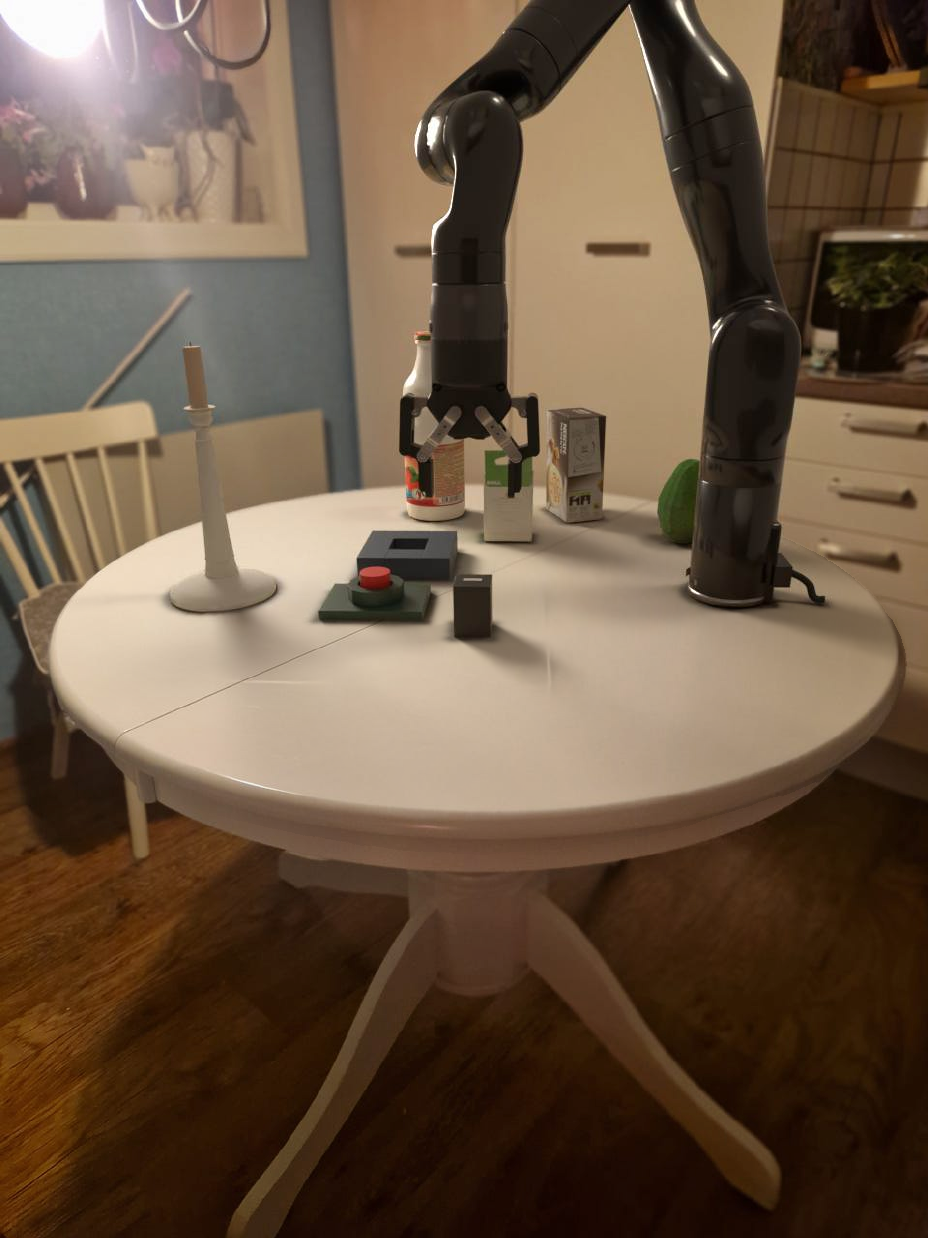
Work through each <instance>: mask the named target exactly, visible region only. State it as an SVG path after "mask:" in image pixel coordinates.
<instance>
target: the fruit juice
mask: <svg viewBox="0 0 928 1238" xmlns="http://www.w3.org/2000/svg"><path fill="white" fill-rule="evenodd" d="M413 339H414V344H415V346H416V357H415V362H414V365H413V368H412V371H411V373H410V374H409V376H408V377H407V378H406V380H405V383H404V384H403V388H402V397H403V396H404V395H405V394H406V393H412V394H413V395H415V396H429V395H430V393H431V388H432V377H431V334H430V331H429V330H421V331H416V332H414V338H413ZM438 424H439V423H438V422H437V420H436V419H435V418H434V416H433V415H432V414H431V412H430V411H429V409H428V407H424V408H423V409H422V412H421V414H420V415H419V417H417V418H415V427H414V443H417V444H420V445H422V446H423V444H424V443H425V442H426V440H427V439H428V437H429V436H430V435H431V433H432V432H433V430H434V429H435V428H436V426H437V425H438ZM431 459H434V495H433V497H432V498H426V497H425V492H421V491H420V489H419V476H418V462H417V461H416V459H414V458H412V457H409V456H404V472H405V473H404V475H405V495H406V497H405V499H406V510H407V514H408V516H409V517H410V518H413V519H415V520H419V521H426V522H429V521H430V522H440V521H448V520H454V519H457V518H460V517H462V515H464V513H465V510H466V482H465V481H466V479H465V439H462V440H454V438H452V437H450V436H448V435H447V434H446V436H445V437H444V438H443V440H442V441H441V443H440V444H439V445H438V446H437V448H436V449H435V450H434V452H433V453H432V454H431Z"/></svg>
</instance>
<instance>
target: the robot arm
mask: <svg viewBox="0 0 928 1238" xmlns="http://www.w3.org/2000/svg"><path fill="white" fill-rule="evenodd" d="M627 8H628V10H629V13H630V16H631V20H632V22H633V25H634V29H635V32H636V35H637V39H638V42H639V46H640V50H641V55H642V58H643V63H644V68H645V72H646V75H647V79H648V84H649V88H650V92H651V95H652V99H653V103H654V104H653V105H654V108H655V113H656V117H657V122H658V128H659V133H660V138H661V143H662V147H663V148H662V149H663V153H664V156H665V161H666V166H667V170H668V174H669V179H670V181H671V182H670V183H671V186H672V190H673V193H674V196H675V200H676V203H677V207H678V210H679V212H680V216H681V218H682V221H683V224H684V226H685V229H686V232H687V235H688V237H689V239H690V242H691V244H692V247H693V250H694V252H695V255H696V258H697V261H698V264H699V268H700V271H701V276H702V281H703V288H704V294H705V301H706V309H707V316H708V326H709V348H708V358H707V368H706V383H705V392H704V393H705V394H704V406H703V415H702V416H703V417H702V423H701V424H702V427H701V438H700V439H701V440H700V453H699V455H700V456H699V460H700V464H699V475H698V486H697V497H696V508H695V519H694V530H693V542H691V554H690V565H689V567H687V568H685V577H688V581H687V589H686V591H687V593H688V595H689V596H690V597H691V598H693V599H695V600H697V601H699V602H702V603H704V604H707V605H712V606H716V607H723V608H724V607H725V608H748V607H753V606H758V605H761V604H772V603H773V598H774V590H775V589H776V588H777V589H780V588H781V589H788V588H791V583H792V579H795V580H796V581H799V582H800V583H802V584H803V585H804V586H805V587H806V591H807V595H808V597H809V599H810V601H812V602H813V603H816V604H825V602H826V595H817V593H816V587H815V585H814V583H813V582H812V580H811V579H810V578H809V577H807V576H806V575H805V574H804V573H801V572H799V571H797V570H795V569H794V566H793V565H792V564H791V562H790V561H789V560H788V559H787V557H785V555H784V554H783V553H782V552H780V547H781V546H780V545H781V537H782V529H783V527H782V524H781V523H780V522H779V520H778V517H779V516H778V515H779V508H780V501H781V491H782V485H783V477H784V468H785V461H786V454H787V453H786V452H787V445H788V440H789V435H790V432H791V429H792V421H793V415H794V408H795V401H796V395H797V387H798V382H799V381H798V380H799V374H800V365H801V357H802V337H801V333H800V330H799V327H798V325H797V323H796V321H795V320H794V319H793V318H792V316H791V315H790V313H789V310H788V308H787V306H786V302H785V299H784V296H783V293H782V289H781V287H780V283H779V279H778V276H777V272H776V269H775V264H774V261H773V257H772V253H771V246H770V241H769V240H770V239H769V226H768V199H767V182H766V173H765V171H766V170H765V163H764V155H763V153H764V152H763V147H762V142H761V136H760V131H759V125H758V119H757V115H756V110H755V107H754V106H755V104H754V99H753V96H752V92H751V89H750V86H749V83H748V82H747V79H746V78H745V77H744V75H743V73H742V72H741V70H740V68H739V67H738V66H737V64H736V63H735V62H734V61H733V60H732V58H731V57H730V56H729V55H728V53H727V52H726V51H725V50H724V48H723V47H722V46H721V45H720V44H719V43H718V42H717V41H716V39H715V38H714V37H713V36H712V35H711V33H710V31H709V30H708V29H707V27H706V26H705V24H704V22H703V20H702V18H701V16H700V13H699V11H698V7H697V4H696V1H695V0H529V1H528V2H527V4H526V5H525V6H524V7H523V8H522V10H520V12H519V13H518V14H517V15H516V16H515V18H514V19H513V20H512V21H511V23H510V24H509V25H508V26H507V27H506V29H505V30H504V31H503V33H501V35H500V36H499V37H498V39H497V40H496V41H495V43H494V44H493V46H491V48H490V49H489V50H488V51H487V52H486V53H485V54H484V55H483V56H482V57H480V59H478V60H477V61H476V62H474V63H473V64H472V65H471V66H469V67H468V68H467V69H466V70H464V72H463V73H461V74H460V75H459V76H458V77H457V78H456V79H455V80H453V81H452V82H451V83H450V84H449V85H448V86H446V87H445V89H443V90H442V91H441V92H440V93H439V95H437V96H436V97H435V98H434V99H433V101H432V102H431V103H430V104H429V106H428V107H427V108H426V110H425V112H424V113H423V114H422V116H421V118H420V120H419V122H418V125H417V128H416V132H415V137H414V151H415V157H416V160H417V163H418V166H419V167H420V169H421V171H422V172H423V174H424V175H425V176H426V177H427V178H429V180H431V181H432V182H434V183H436V184H439V185H442V186H446V187H453V190H452V197H451V202H450V203H451V204H450V208H449V209H448V211H447V212H446V214H443V216H440V218H438V219H436V220H435V223H434V224H433V226H432V230H431V239H430V249H431V250H430V251H431V252H430V253H431V283H432V284H431V295H430V305H429V322H428V329H429V330H428V331H430V334H431V377H432V388H431V393H430V395H429V396H415V395H413V394H412V393H406V394H405V395H404V396H403V395H402V397H401V399H400V400H399V432H398V433H399V435H398V451H399V452H398V453H399V454H400V455H401V456H403V457H405V456H409V457H412V458H414V459H416V461H417V462H418V476H419V489H420V491H421V492H425V497H426V498H432V497H433V495H434V459H431V454H432V453H433V452H434V450H435V449H436V448H437V446H438V445H439V444H440V443H441V441H442V440H443V438H444V437H445V436H446V434H447V435H448V436H450V437H452V438H454V440H462V439H464V440H465V439H468V438H469V439H472V440H477V441H484V440H486V439H487V438H490V437H492V439H493V440H494V442H495V443H496V444H497V446H498V447H499V448H501V450H503V451H504V452H505V453H506V455H507V458H508V461H507V464H508V498H515V493H520V490H521V487H522V463H523V461H524V460H525V459H527V458H530V457H532V458H536V457H538V456H539V455H540V453H541V438H540V437H541V436H540V411H539V410H540V409H539V396H538V394H537V393H536V392H530V393H527V395H517V396H515V395H514V396H511V393H510V392H509V388H508V368H509V367H508V364H509V363H508V361H509V360H508V357H509V356H508V353H509V351H508V350H509V349H508V348H509V347H508V346H509V345H508V344H509V339H508V338H509V304H508V297H507V285H506V281H507V241H506V237H507V231H508V228H509V224H510V221H511V217H512V213H513V209H514V205H515V200H516V195H517V191H518V187H519V183H520V182H519V181H520V177H521V174H522V173H521V172H522V167H523V159H524V136H523V129H522V124H521V123H523V122H525V121H527V120H530V119H531V118H534V117H536V116H538V115H539V114H541V113H542V112H543V111H545V109H547V107H549V105H551V104H552V102H553V101H554V100H555V99H556V98H557V96H558V95H559V94H560V93H561V92H562V91H563V89H564V88H565V87H566V85H568V83H569V82H570V80H571V79H572V78H573V77H574V76H575V74H577V72H578V71H579V69H580V68H581V67H582V66H583V64H584V63H585V62H586V60H587V59H588V58H589V57H590V56H591V54H592V53H593V52H594V50H595V49H596V48H597V47H598V45H599V44H600V42H602V40H603V39H604V38H605V36H606V35H607V34H608V33H609V31H610V29H611V28H612V27H613V26H614V24H615V23H616V22H617V20H619V18H620V17H621V16H622V14H623V13H624V12H625V11H626V9H627ZM424 407H428V409H429V411H430V412H431V414H432V415H433V416H434V418H435V419H436V420H437V422H438V423H439V424H438V425H437V426H436V428H435V429H434V430H433V432H432V433H431V435H430V436H429V437H428V439H427V440H426V442H425V443H424V444H423V446H422V445H420V444H417V443H414V427H415V418H417V417H419V415H420V414H421V412H422V409H423V408H424ZM512 408H514V409H516V410H517V414H518V416H519V417H520V418H521V419H526V439H527V441H526V442H527V443H524V444H521V445H519V444H518V442H517V441H516V440H515V438H514V437H513V436H512V434H511V432H510V430H509V429H508V428H507V426H506V425H505V424H504V422H503V421H504V419H505V418H506V417H507V415H508V414H509V413H510V411H511V409H512Z"/></svg>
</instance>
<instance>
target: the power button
mask: <svg viewBox="0 0 928 1238" xmlns="http://www.w3.org/2000/svg"><path fill="white" fill-rule="evenodd" d="M359 573H360V587H361V588H365V589H381V588H387V587H389V586H391V576H390V570H389V569H388V568H385V567H368V568H364V569H362V570H361V571H360V572H359Z"/></svg>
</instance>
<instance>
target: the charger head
mask: <svg viewBox="0 0 928 1238" xmlns="http://www.w3.org/2000/svg"><path fill="white" fill-rule="evenodd" d="M453 581H454V582H453V586H452V598H453V599H452V600H453V602H452V603H453V604H452V605H453V637H454V638H469V639H470V638H472V639H473V638H474V639H477V638H479V639H481V638H482V639H491V638H492V633H493V632H492V631H493V574H489V573H488V574H487V573H485V574H482V573H481V574H480V573H479V574H478V573H476V574H475V573H474V574H471V573H470V574H469V573H468V574H467V573H462V574H461V573H456V574H455V576H454V580H453Z"/></svg>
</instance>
